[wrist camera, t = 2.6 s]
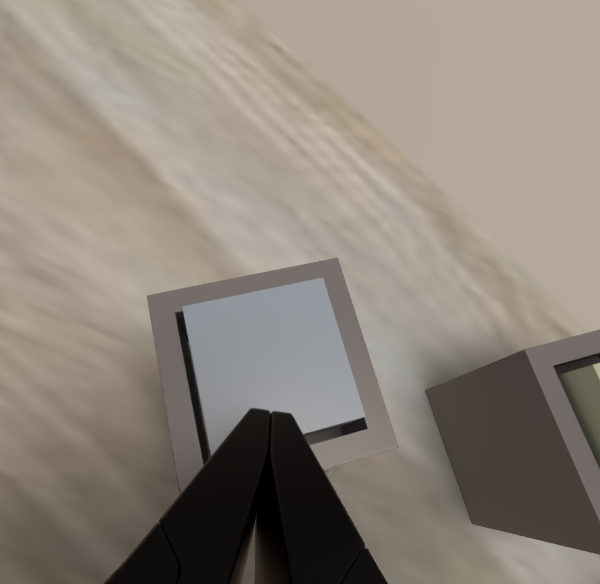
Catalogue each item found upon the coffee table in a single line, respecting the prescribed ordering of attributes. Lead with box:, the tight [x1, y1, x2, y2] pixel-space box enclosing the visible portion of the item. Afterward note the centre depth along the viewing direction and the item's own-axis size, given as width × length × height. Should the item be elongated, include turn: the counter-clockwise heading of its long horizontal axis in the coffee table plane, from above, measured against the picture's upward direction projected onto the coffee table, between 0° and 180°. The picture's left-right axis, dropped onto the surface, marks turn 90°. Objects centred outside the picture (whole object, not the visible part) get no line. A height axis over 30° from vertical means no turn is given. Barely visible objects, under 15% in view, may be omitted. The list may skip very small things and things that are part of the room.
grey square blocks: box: [147, 258, 600, 555], centre depth 16 cm, size 22×19×8 cm
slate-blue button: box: [182, 278, 366, 456], centre depth 13 cm, size 4×4×2 cm
